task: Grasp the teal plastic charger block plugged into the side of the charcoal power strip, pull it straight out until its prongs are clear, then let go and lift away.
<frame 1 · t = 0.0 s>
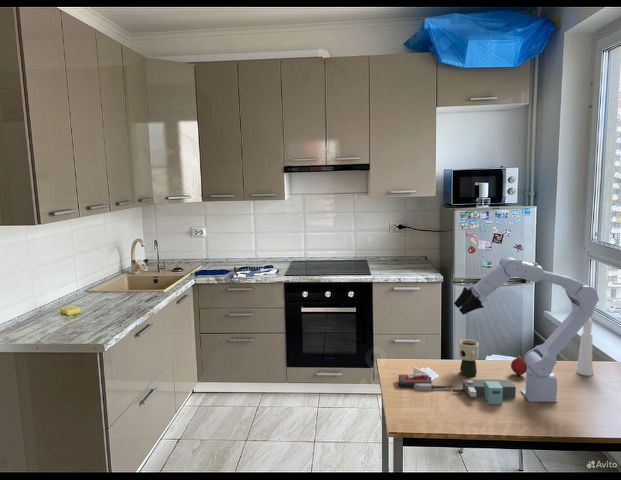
hand: (458, 309, 161), 32 cm above the table, tool tilted 50°, fingers open, 7 cm apart
walkie-talkie: (423, 386, 175), on the table
onion: (518, 375, 180), on the table
character mug: (468, 374, 183), on the table
cosmetic bottle: (584, 372, 181), on the table
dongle: (471, 399, 163), resting on power strip
charger: (492, 391, 162), point 3 cm above the table, slide at 0.0 cm
power strip: (488, 393, 167), on the table
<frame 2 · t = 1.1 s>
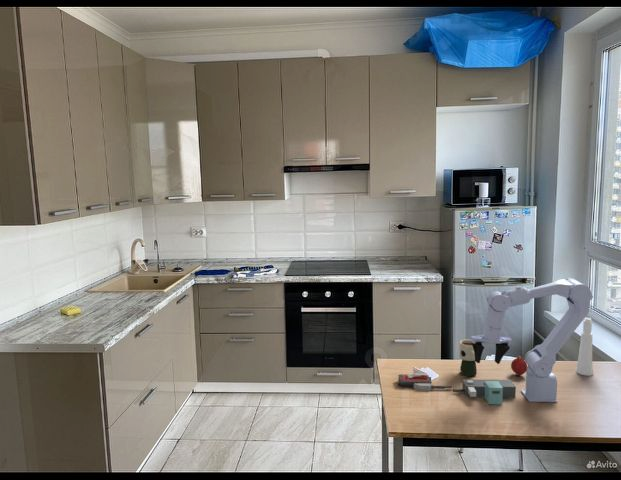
hand: (487, 362, 164), 12 cm above the table, tool pointing down, fingers open, 7 cm apart
nothing on the table moved.
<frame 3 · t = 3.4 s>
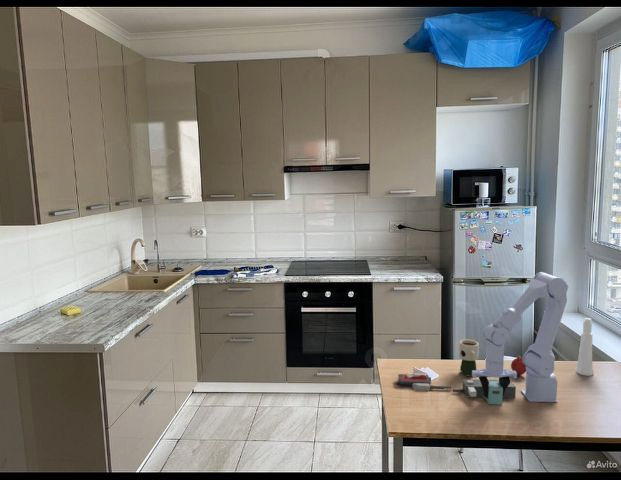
hand: (493, 396, 161), 2 cm above the table, tool pointing down, fingers closed on charger, 4 cm apart
charger: (492, 391, 162), point 3 cm above the table, slide at 0.0 cm, touching gripper
everything else where it was.
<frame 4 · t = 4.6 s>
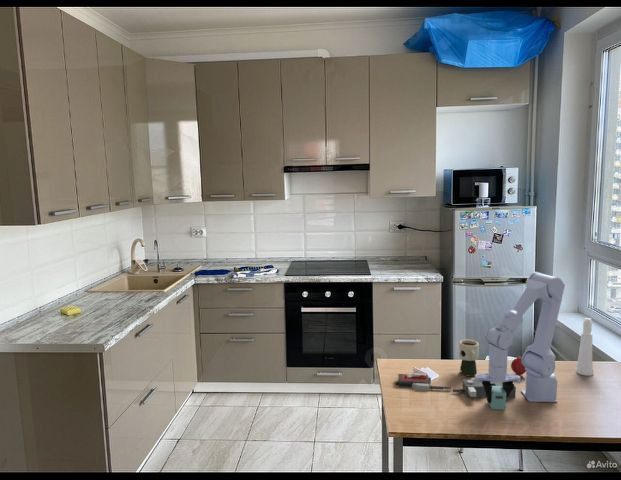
hand: (496, 401, 158), 2 cm above the table, tool pointing down, fingers closed on charger, 4 cm apart
charger: (495, 396, 158), point 3 cm above the table, slide at 3.4 cm, touching gripper
everything else where it was.
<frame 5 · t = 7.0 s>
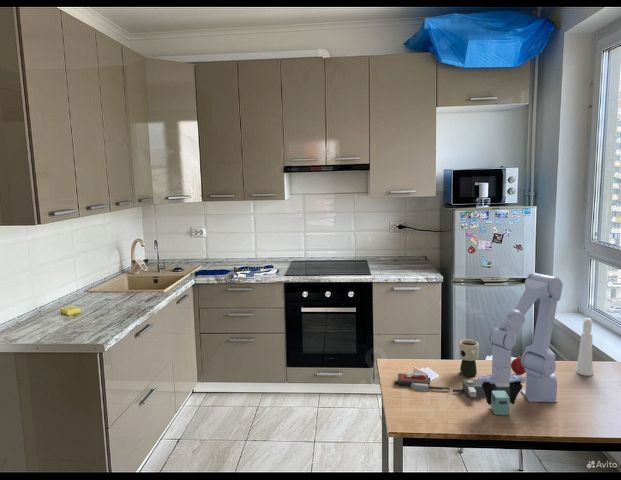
hand: (500, 403, 154), 3 cm above the table, tool pointing down, fingers open, 7 cm apart
charger: (499, 401, 155), point 3 cm above the table, slide at 7.0 cm
everything else where it was.
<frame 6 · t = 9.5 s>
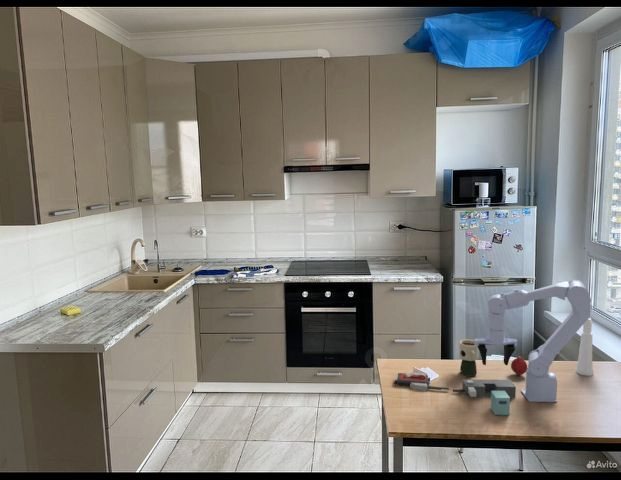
hand: (494, 364, 168), 10 cm above the table, tool pointing down, fingers open, 7 cm apart
at the end: charger slide at 7.0 cm; the gripper is holding nothing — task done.
